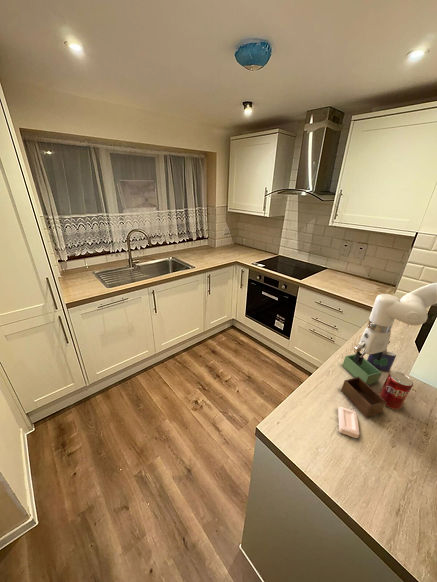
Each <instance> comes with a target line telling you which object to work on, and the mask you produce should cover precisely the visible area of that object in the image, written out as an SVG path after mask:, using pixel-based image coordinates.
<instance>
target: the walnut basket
mask: <svg viewBox="0 0 437 582" xmlns="http://www.w3.org/2000/svg"><path fill="white" fill-rule="evenodd" d="M340 391H341V393H342V394H343V395H344V396H345V397H346V398H347V399H348V400H349V401H350V403H352V404H353V405H354V406H355V407H356V408H357V409H358V411H359V412H360V413H361V414H362V415H363V416H364V417H365V418H366V419H367V418H370V417H373V416H377V415H380V414H382V413H383V411H384V409H385V407H386V406H385V405H386V403H387V402H386V401H385V400H384V399H383V398H382V397H381V396H379V393H377V392H376V391H375V390H374V389H373V388H372V387H371V386H370V385H367V384H366V383H365V382H364V381H363V380H362V379H361V378H360V377H356V378H355V377H352V378H349V379H345V380H344V381H343V383H342V386H341V390H340Z"/></svg>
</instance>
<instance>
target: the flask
mask: <svg viewBox="0 0 437 582" xmlns="http://www.w3.org/2000/svg"><path fill="white" fill-rule="evenodd" d="M382 353H383V354H382V356H381V359H380V360H379V361H378V360H377V359H375V358H374V357H373V356H372V355H373V354H368V357H367V359H366V360H367V361H368V362H369V363H371V364H372V365H373V366H374V367H375V368H377V369H378V370H379V371H380V372H385V373H386V372H387V373H390V372H391V369H392V366H393V365H394V362H395V360H396V358H397V354H396V353H395V352H393V351H392V352H391V351H388V348H387V349H386V350H385V351H384V352H382Z"/></svg>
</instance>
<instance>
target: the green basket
mask: <svg viewBox="0 0 437 582" xmlns="http://www.w3.org/2000/svg"><path fill="white" fill-rule="evenodd" d="M355 355H356V353H353V354H349V355H345V357H344V359H343V362H342V365H341V366H342V367H343V368H344V369H345V370H346V371H347V372H348V373H349V374H350V375H351V376H353V378H356V377H360V378H361V379H362V380H363V381H364V382H365V383H366V384H367V385H369V386H370V385H375V384H378V383H379V380H380V378H381V376H382V374H383V371H381V370H378V369H377V368H375V367H374V366H373V365H372V364H371V363H369V362H368V361H367V359H366V358H364V359H363V361H362V364H361V365H359V364H357V363H356V362H355V361H354V358H355Z"/></svg>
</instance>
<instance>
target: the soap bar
mask: <svg viewBox="0 0 437 582" xmlns="http://www.w3.org/2000/svg"><path fill="white" fill-rule="evenodd" d="M337 414H338V429H339V430H338V431H339V432H340V434H344V435H346V436H349V437H351V438H355V439H358V438H359V437H360V429H359V421H358V415H357V412H356V411H355V410H352V409H349V408H346V407H343V406H339V407H338V410H337Z"/></svg>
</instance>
